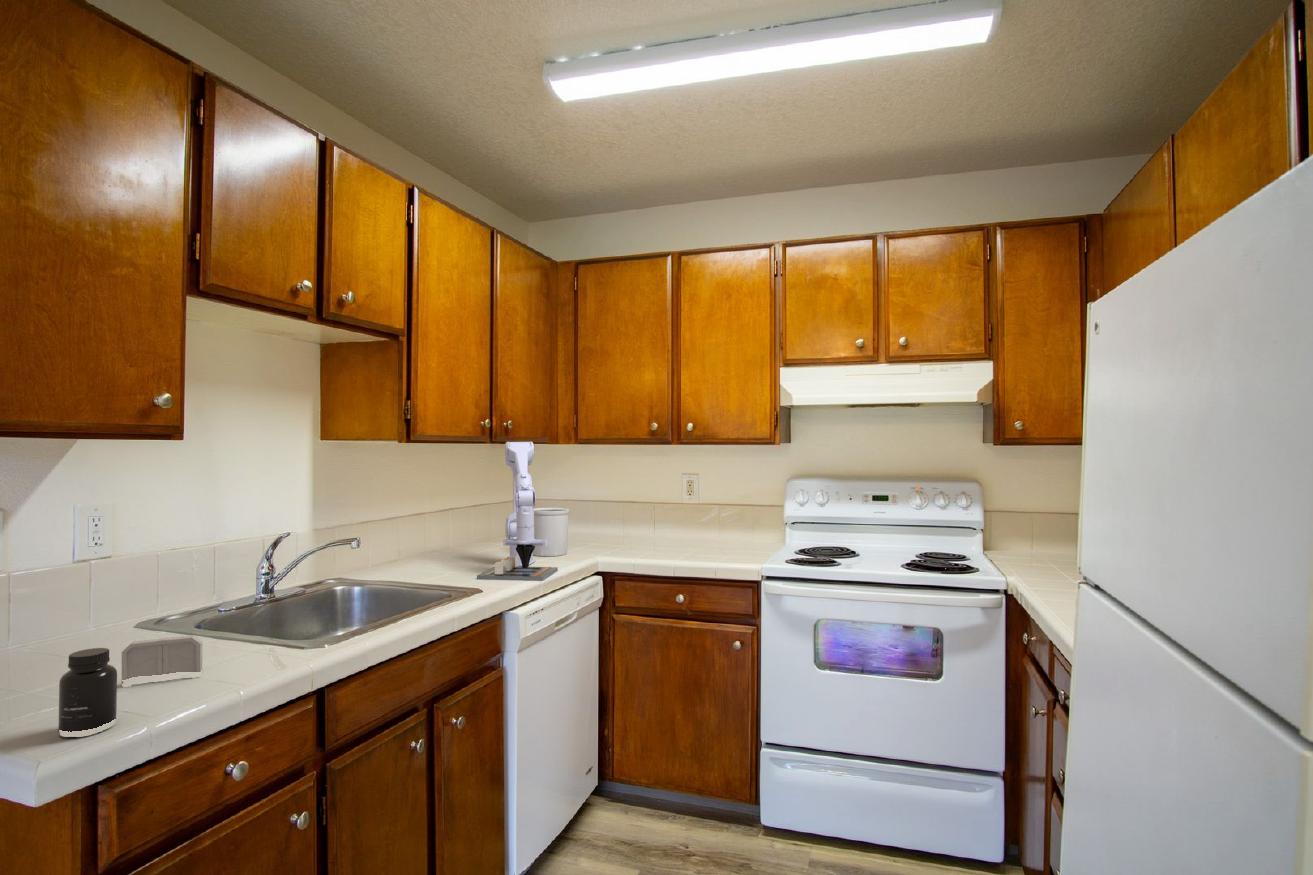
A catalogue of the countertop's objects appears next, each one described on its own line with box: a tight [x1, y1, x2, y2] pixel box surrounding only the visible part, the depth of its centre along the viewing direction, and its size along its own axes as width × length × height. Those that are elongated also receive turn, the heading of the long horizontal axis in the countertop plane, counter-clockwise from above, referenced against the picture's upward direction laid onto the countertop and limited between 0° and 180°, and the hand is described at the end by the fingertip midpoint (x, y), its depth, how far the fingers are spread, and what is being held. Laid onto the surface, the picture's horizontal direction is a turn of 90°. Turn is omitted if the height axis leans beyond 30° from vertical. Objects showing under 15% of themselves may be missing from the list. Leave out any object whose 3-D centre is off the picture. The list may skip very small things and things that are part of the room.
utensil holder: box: [533, 507, 570, 557], centre depth 259 cm, size 15×15×18 cm
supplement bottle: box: [58, 647, 118, 732], centre depth 102 cm, size 7×7×12 cm
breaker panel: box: [476, 555, 559, 582], centre depth 218 cm, size 16×22×5 cm
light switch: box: [121, 634, 203, 681], centre depth 123 cm, size 2×12×8 cm, turn 114°
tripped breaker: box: [500, 557, 512, 571], centre depth 219 cm, size 3×3×4 cm
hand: (525, 567), depth 218 cm, fingers closed
